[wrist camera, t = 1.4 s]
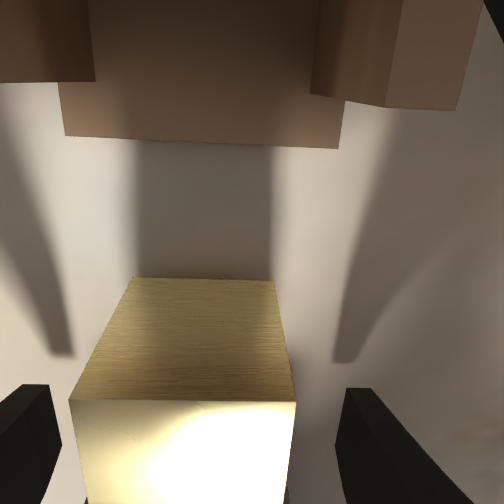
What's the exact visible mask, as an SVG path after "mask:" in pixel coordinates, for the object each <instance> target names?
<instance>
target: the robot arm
mask: <svg viewBox="0 0 504 504" xmlns="http://www.w3.org/2000/svg"><path fill="white" fill-rule="evenodd" d="M61 447H62V442H61V437H60V433H59V428H58V424H57V419H56V414H55V410H54V405H53V401H52V396H51V392H50V387H49V385H42V384H22V385H21V386H20V387H19V388H17V389H16V390H15V391H14V392H12V393H11V394H10V395H9V396H7V397H6V398H5V399H4V400H3V401H1V402H0V504H40V503H41V501H42V499H43V497H44V495H45V492H46V490H47V487H48V485H49V482H50V479H51V476H52V474H53V471H54V468H55V465H56V462H57V459H58V456H59V453H60V450H61ZM335 449H336V455H337V461H338V466H339V472H340V477H341V482H342V487H343V491H344V495H345V498H346V502H347V504H474V503H473V502H472V501H471V500H470V499H469V498H468V497H467V496H466V495H465V494H464V493H463V492H462V491H461V490H460V489H459V488H458V487H457V486H456V485H455V484H454V483H453V481H452V480H451V479H450V478H449V477H448V476H447V475H446V474H445V473H444V472H443V471H442V470H441V468H440V467H439V466H438V465H437V464H436V463H435V462H434V461H433V460H432V459H431V457H430V456H429V455H428V454H427V453H426V452H425V451H424V450H423V449H422V447H421V446H420V445H419V444H418V443H417V442H416V441H415V439H414V438H413V437H412V436H411V435H410V434H409V433H408V431H407V430H406V429H405V428H404V427H403V426H402V424H401V423H400V422H399V421H398V420H397V418H396V417H395V416H394V415H393V414H392V413H391V411H390V410H389V409H388V408H387V407H386V405H385V404H384V403H383V402H382V401H381V399H380V398H379V397H378V396H377V395H376V394H375V392H374V391H373V390H372V389H371V388H346V393H345V398H344V403H343V408H342V413H341V418H340V423H339V428H338V433H337V438H336V443H335Z"/></svg>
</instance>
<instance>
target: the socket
mask: <svg viewBox="0 0 504 504" xmlns="http://www.w3.org/2000/svg"><path fill="white" fill-rule="evenodd" d="M483 1H484V0H0V83H36V82H58V89H59V96H60V103H61V110H62V117H63V124H64V131H65V136H78V137H99V138H120V139H141V140H162V141H183V142H204V143H225V144H246V145H267V146H288V147H309V148H330V149H338V147H339V140H340V133H341V126H342V119H343V111H344V104H345V100H347V101H352V102H357V103H363V104H368V105H374V106H379V107H385V108H404V109H422V110H441V111H455V110H456V106H457V102H458V99H459V95H460V91H461V87H462V83H463V79H464V75H465V71H466V67H467V63H468V59H469V55H470V52H471V48H472V44H473V40H474V36H475V32H476V28H477V24H478V20H479V16H480V12H481V9H482V5H483Z"/></svg>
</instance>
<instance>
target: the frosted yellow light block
mask: <svg viewBox="0 0 504 504" xmlns="http://www.w3.org/2000/svg"><path fill="white" fill-rule="evenodd" d="M68 401H69V406H70V411H71V416H72V421H73V426H74V431H75V437H76V442H77V447H78V452H79V457H80V462H81V467H82V472H83V478H84V483H85V488H86V493H87V497H86V500H85V503H84V504H290V503H289V495H288V487H287V479H286V476H287V469H288V461H289V454H290V446H291V439H292V431H293V424H294V416H295V409H296V396H295V391H294V386H293V381H292V375H291V370H290V365H289V359H288V354H287V349H286V343H285V338H284V333H283V327H282V322H281V317H280V311H279V306H278V301H277V296H276V290H275V285H274V281H256V280H220V279H184V278H147V277H132V279H131V281H130V283H129V285H128V287H127V289H126V290H125V292H124V294H123V296H122V298H121V300H120V302H119V304H118V306H117V308H116V309H115V311H114V313H113V315H112V317H111V319H110V321H109V323H108V325H107V327H106V329H105V330H104V332H103V334H102V336H101V338H100V340H99V342H98V344H97V346H96V348H95V349H94V351H93V353H92V355H91V357H90V359H89V361H88V363H87V365H86V367H85V369H84V370H83V372H82V374H81V376H80V378H79V380H78V382H77V384H76V386H75V388H74V389H73V391H72V393H71V395H70V397H69V399H68Z"/></svg>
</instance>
